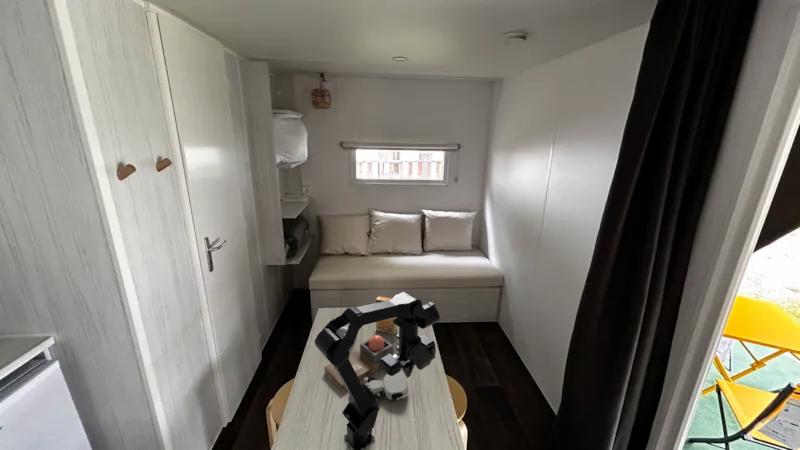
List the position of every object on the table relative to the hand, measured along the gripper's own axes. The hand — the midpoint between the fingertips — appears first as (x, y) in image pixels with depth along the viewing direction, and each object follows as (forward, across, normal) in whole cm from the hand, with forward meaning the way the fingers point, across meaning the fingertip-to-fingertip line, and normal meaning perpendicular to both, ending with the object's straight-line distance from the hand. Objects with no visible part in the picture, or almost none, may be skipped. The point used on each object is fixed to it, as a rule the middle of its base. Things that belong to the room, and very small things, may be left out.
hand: (407, 376), depth 105 cm
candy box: (+12, +22, +37) cm, 45 cm away
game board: (+12, 0, +25) cm, 28 cm away
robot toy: (+12, -1, +9) cm, 16 cm away
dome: (+8, +7, +25) cm, 27 cm away
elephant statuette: (+12, +2, +43) cm, 45 cm away
